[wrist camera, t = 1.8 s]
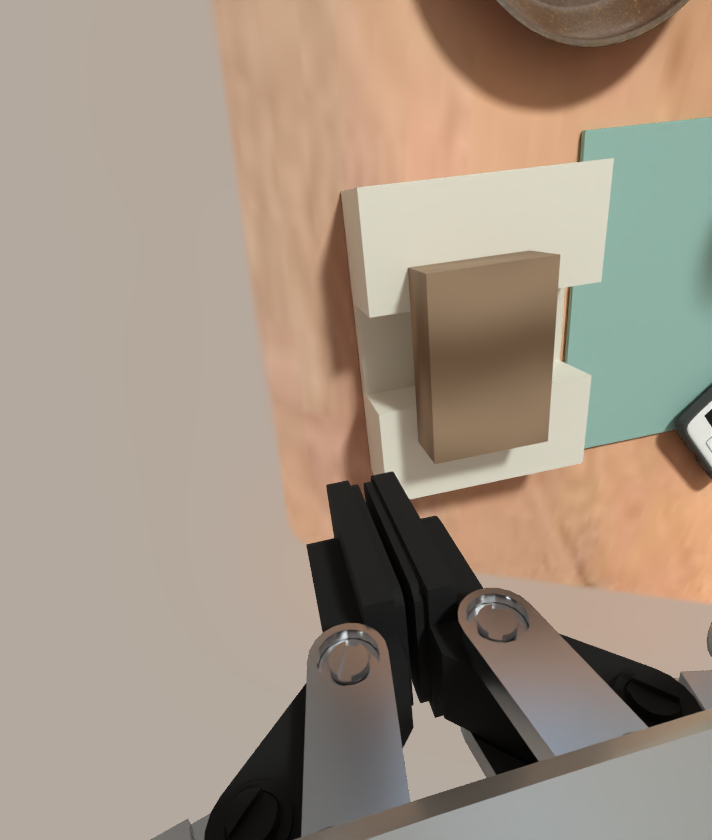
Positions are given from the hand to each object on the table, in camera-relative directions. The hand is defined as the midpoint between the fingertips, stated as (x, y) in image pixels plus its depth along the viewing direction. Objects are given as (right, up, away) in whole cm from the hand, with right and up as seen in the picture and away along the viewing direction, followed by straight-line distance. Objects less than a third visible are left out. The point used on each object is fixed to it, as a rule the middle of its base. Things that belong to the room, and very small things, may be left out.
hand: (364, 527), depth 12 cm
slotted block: (+6, +8, +16) cm, 19 cm away
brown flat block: (+6, +6, +12) cm, 15 cm away
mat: (+19, +10, +18) cm, 28 cm away
